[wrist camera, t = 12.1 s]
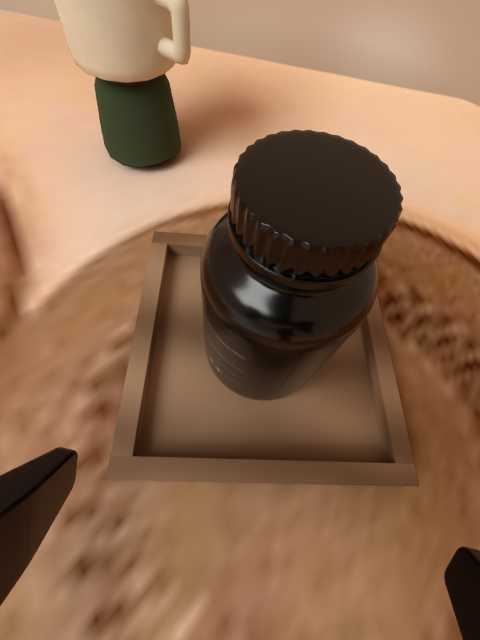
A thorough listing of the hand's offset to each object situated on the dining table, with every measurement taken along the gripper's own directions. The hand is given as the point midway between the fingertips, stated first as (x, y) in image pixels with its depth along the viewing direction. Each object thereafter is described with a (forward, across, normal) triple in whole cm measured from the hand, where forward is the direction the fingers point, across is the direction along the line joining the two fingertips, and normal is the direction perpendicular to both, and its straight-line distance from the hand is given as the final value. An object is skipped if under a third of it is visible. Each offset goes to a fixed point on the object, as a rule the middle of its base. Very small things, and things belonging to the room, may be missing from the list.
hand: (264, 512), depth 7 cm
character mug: (+24, +13, -10) cm, 29 cm away
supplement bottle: (+12, 0, +1) cm, 12 cm away
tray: (+13, 0, +1) cm, 13 cm away
